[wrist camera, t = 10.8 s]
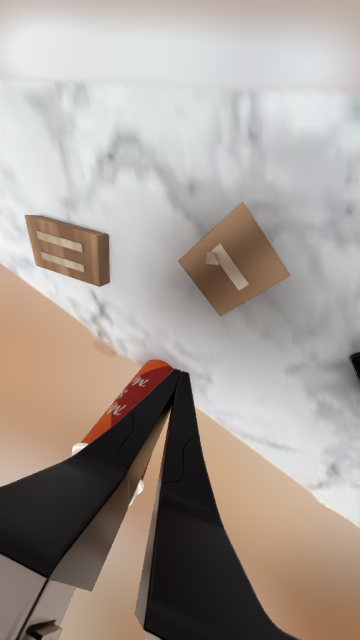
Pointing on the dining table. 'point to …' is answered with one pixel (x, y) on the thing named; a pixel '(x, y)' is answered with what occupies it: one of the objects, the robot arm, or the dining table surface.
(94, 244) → the wooden block
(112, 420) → the coffee cup
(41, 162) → the dining table surface
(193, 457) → the robot arm
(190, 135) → the dining table surface
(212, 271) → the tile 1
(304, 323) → the dining table surface
